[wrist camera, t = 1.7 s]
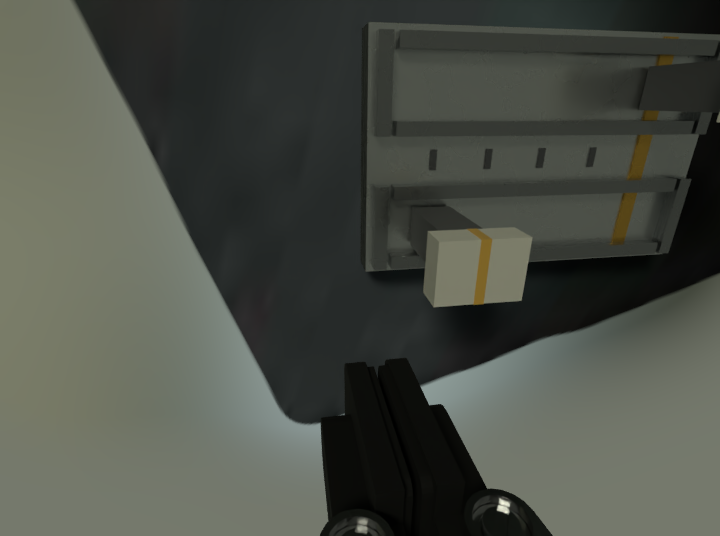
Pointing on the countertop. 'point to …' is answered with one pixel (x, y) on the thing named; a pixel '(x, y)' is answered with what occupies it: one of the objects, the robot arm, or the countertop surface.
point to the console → (523, 137)
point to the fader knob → (468, 258)
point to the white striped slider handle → (683, 88)
